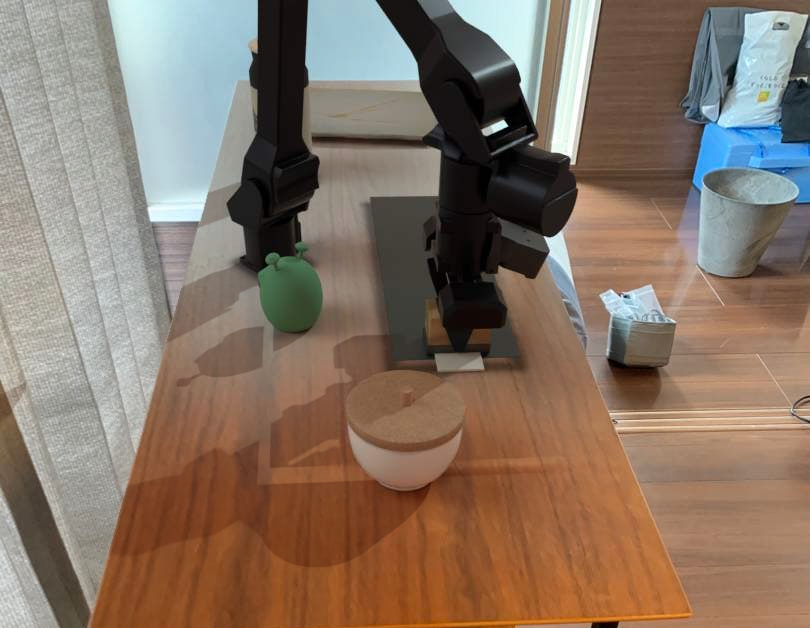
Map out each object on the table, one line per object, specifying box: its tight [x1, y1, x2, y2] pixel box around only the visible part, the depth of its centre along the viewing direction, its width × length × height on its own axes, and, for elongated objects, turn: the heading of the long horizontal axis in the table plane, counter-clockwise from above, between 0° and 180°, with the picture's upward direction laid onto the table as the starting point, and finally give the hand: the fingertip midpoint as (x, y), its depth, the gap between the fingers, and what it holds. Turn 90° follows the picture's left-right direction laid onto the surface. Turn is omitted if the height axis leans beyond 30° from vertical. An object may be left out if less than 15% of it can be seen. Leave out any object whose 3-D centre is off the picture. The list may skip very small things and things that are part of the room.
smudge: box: [435, 352, 485, 373], centre depth 89 cm, size 3×5×1 cm, turn 95°
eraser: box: [423, 299, 491, 355], centre depth 90 cm, size 4×7×4 cm, turn 95°
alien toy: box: [257, 241, 324, 333], centre depth 91 cm, size 7×8×10 cm
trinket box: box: [345, 369, 467, 492], centre depth 76 cm, size 11×11×9 cm
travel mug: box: [247, 36, 313, 154], centre depth 116 cm, size 8×8×18 cm
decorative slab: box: [309, 86, 437, 141], centre depth 138 cm, size 27×21×2 cm
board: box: [369, 195, 522, 362], centre depth 104 cm, size 40×14×1 cm, turn 5°
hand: (455, 340), depth 91 cm, fingers closed on eraser, 4 cm apart
